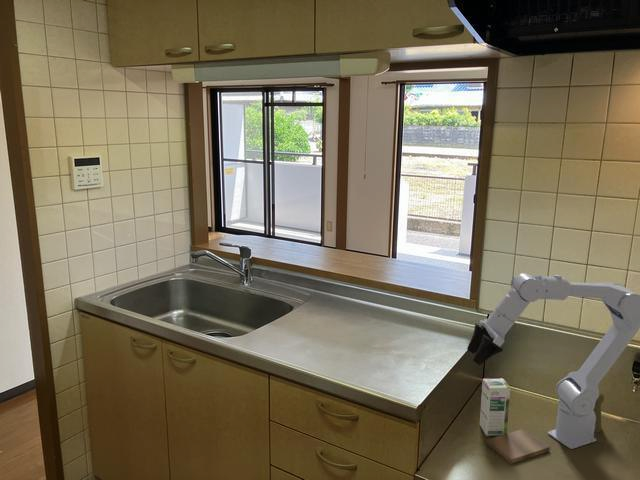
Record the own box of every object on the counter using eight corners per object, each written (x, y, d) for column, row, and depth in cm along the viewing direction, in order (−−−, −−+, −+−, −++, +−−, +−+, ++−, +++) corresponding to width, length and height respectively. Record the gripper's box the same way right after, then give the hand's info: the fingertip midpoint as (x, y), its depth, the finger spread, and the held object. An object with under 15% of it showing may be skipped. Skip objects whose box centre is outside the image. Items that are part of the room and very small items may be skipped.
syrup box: (486, 436, 142) (490, 388, 139) (478, 424, 148) (482, 377, 145) (506, 436, 142) (511, 387, 139) (498, 424, 148) (502, 377, 145)
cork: (572, 421, 150) (577, 386, 147) (591, 419, 151) (596, 384, 148) (587, 433, 144) (591, 397, 141) (606, 431, 145) (611, 395, 142)
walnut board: (523, 432, 144) (523, 428, 144) (549, 451, 136) (549, 446, 136) (486, 443, 139) (486, 439, 139) (510, 463, 131) (511, 459, 131)
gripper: (485, 299, 140) (455, 338, 143) (498, 315, 126) (465, 359, 129) (507, 313, 140) (477, 353, 143) (523, 331, 126) (489, 374, 129)
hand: (473, 356), depth 136 cm, fingers open, 7 cm apart
